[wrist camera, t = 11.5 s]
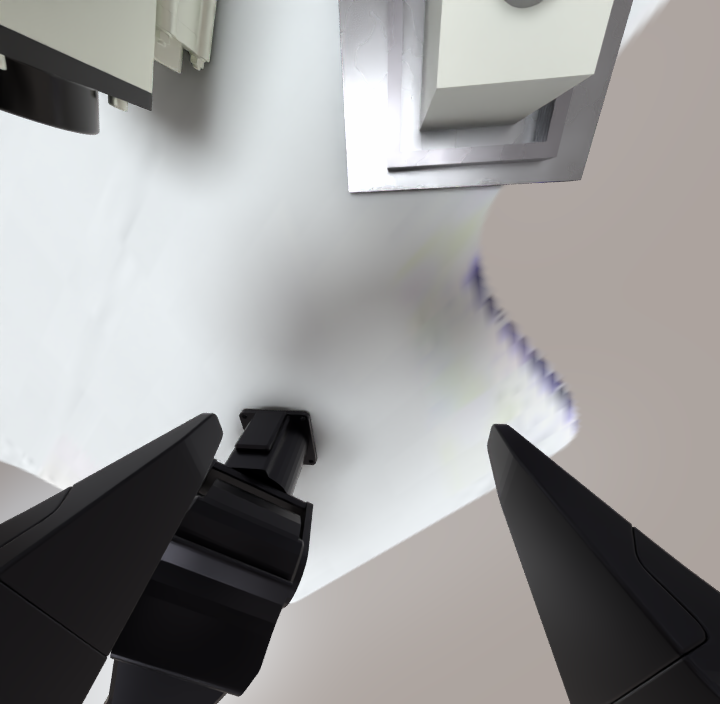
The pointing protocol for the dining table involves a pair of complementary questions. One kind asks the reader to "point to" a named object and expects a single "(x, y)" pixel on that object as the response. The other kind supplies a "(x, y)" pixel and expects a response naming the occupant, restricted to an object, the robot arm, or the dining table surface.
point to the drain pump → (504, 57)
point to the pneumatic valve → (94, 54)
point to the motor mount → (453, 146)
